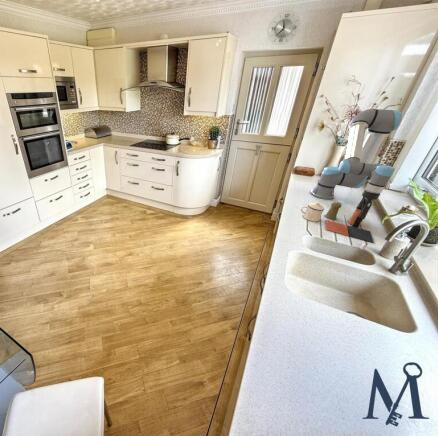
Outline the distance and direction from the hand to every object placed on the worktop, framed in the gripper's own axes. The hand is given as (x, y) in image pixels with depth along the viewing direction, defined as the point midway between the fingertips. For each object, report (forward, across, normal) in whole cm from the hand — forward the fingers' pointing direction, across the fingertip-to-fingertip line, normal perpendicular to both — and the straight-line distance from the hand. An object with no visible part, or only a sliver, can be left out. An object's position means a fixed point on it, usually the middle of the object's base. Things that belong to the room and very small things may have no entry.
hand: (354, 223), depth 150 cm
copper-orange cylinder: (0, 0, 0) cm, 0 cm away
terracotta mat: (0, -14, +10) cm, 17 cm away
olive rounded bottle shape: (0, 0, +13) cm, 13 cm away
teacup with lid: (0, -10, +25) cm, 27 cm away
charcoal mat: (0, -14, -2) cm, 14 cm away
